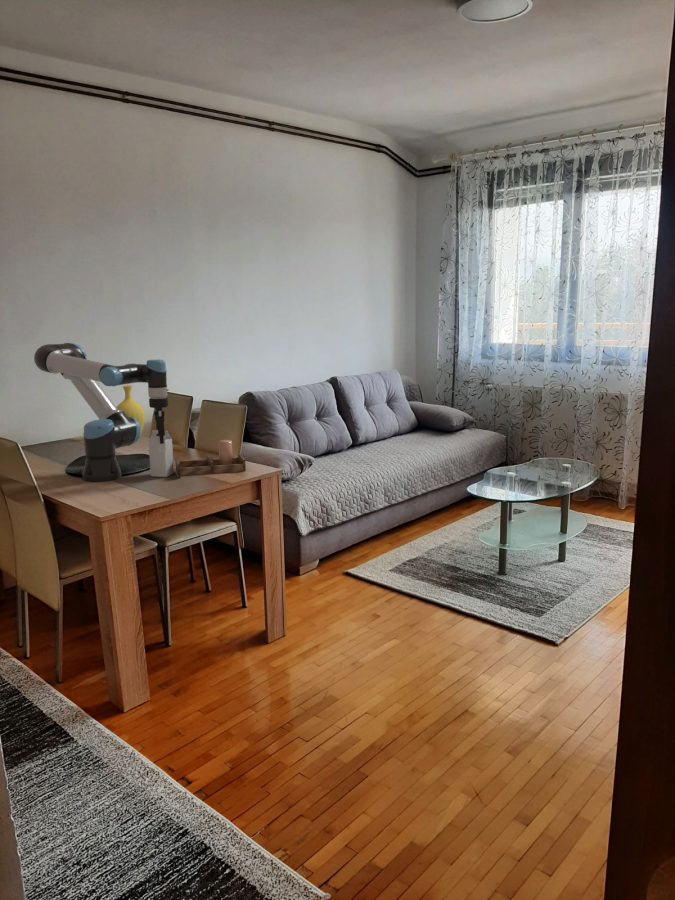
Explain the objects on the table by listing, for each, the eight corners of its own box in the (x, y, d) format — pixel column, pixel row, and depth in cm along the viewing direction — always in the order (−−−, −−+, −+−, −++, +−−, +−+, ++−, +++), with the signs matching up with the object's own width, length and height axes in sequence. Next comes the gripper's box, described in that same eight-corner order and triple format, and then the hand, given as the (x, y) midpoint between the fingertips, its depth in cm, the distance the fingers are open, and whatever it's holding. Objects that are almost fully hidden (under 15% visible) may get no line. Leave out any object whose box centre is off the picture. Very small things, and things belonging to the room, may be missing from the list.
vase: (127, 433, 371) (123, 383, 365) (151, 435, 366) (149, 384, 360) (108, 438, 356) (105, 386, 350) (134, 440, 351) (131, 388, 345)
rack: (178, 478, 273) (177, 463, 271) (175, 470, 286) (175, 456, 284) (245, 473, 281) (245, 459, 280) (240, 466, 294) (239, 452, 293)
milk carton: (166, 477, 274) (163, 432, 270) (150, 476, 276) (147, 431, 272) (173, 473, 281) (171, 429, 277) (158, 472, 282) (155, 428, 278)
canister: (220, 470, 282) (219, 442, 279) (218, 467, 287) (217, 440, 284) (233, 469, 283) (232, 442, 281) (231, 466, 288) (230, 439, 286)
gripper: (169, 400, 261) (172, 453, 265) (165, 393, 284) (168, 442, 289) (149, 401, 259) (153, 454, 263) (147, 394, 282) (151, 443, 286)
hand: (161, 448), depth 276 cm, fingers open, 13 cm apart
